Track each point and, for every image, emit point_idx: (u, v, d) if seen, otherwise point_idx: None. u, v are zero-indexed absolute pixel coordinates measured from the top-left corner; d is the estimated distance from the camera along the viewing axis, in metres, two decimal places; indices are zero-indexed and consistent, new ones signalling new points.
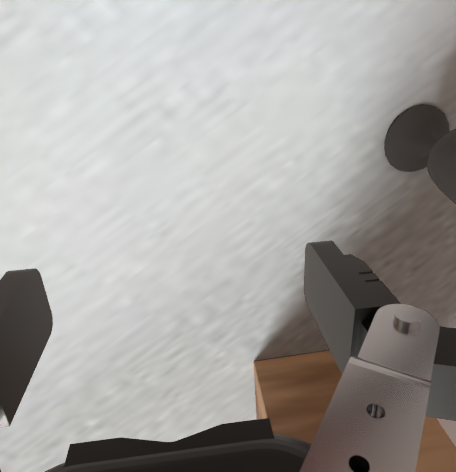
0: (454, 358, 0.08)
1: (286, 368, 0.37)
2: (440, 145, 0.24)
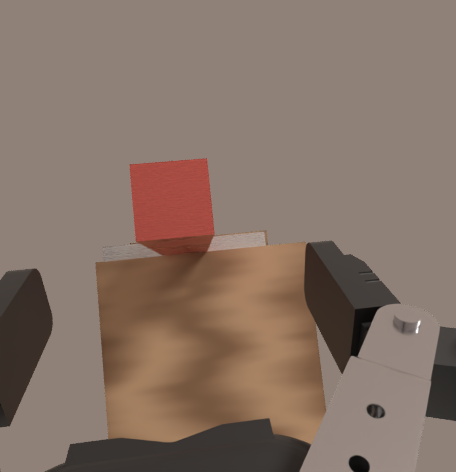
0: (454, 358, 0.08)
1: None
2: None
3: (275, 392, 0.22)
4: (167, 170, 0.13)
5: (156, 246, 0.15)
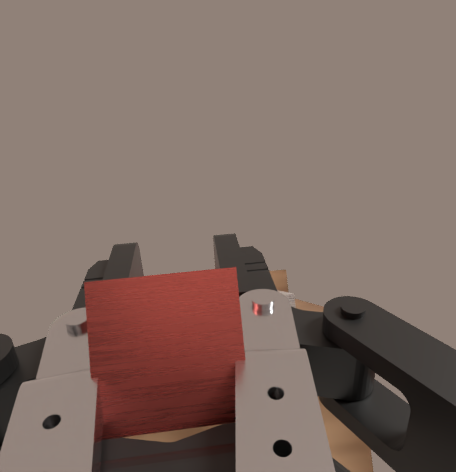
0: (301, 337, 0.09)
1: None
2: None
3: None
4: (159, 293, 0.07)
5: None
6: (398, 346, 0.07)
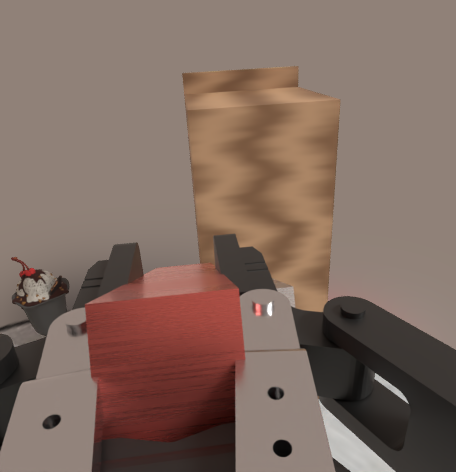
0: (301, 337, 0.09)
1: None
2: (36, 329, 0.50)
3: (303, 201, 0.35)
4: (160, 315, 0.07)
5: None
6: (398, 346, 0.07)
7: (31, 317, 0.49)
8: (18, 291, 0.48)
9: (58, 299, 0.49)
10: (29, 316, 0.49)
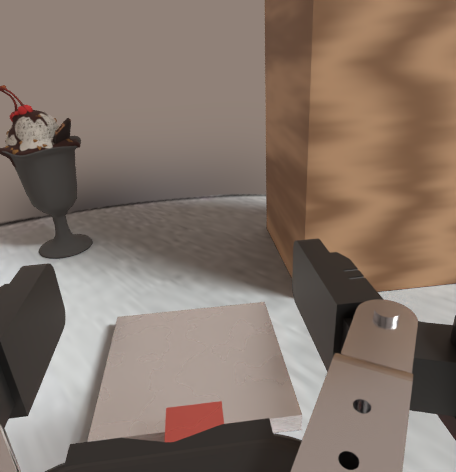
0: (431, 352, 0.08)
1: (292, 264, 0.31)
2: (34, 201, 0.35)
3: None
4: None
5: None
6: None
7: (27, 179, 0.34)
8: (8, 139, 0.34)
9: (65, 153, 0.34)
10: (24, 177, 0.34)
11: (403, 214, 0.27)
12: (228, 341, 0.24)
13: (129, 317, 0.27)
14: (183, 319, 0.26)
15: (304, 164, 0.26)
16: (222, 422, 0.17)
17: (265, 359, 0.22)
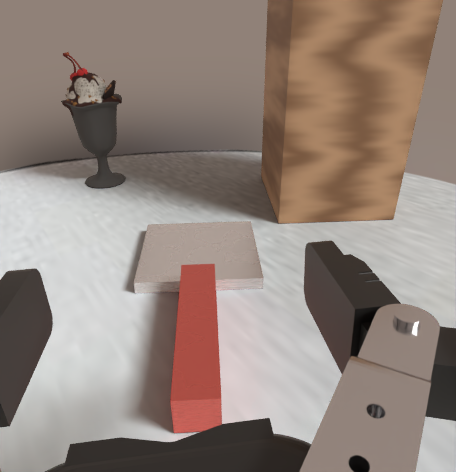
0: (454, 358, 0.08)
1: (274, 199, 0.43)
2: (85, 143, 0.47)
3: None
4: (194, 404, 0.20)
5: None
6: None
7: (81, 125, 0.45)
8: (68, 94, 0.45)
9: (110, 107, 0.45)
10: (79, 124, 0.45)
11: (353, 165, 0.38)
12: (222, 241, 0.36)
13: (156, 225, 0.39)
14: (193, 228, 0.38)
15: (283, 124, 0.36)
16: (214, 272, 0.29)
17: (245, 251, 0.34)
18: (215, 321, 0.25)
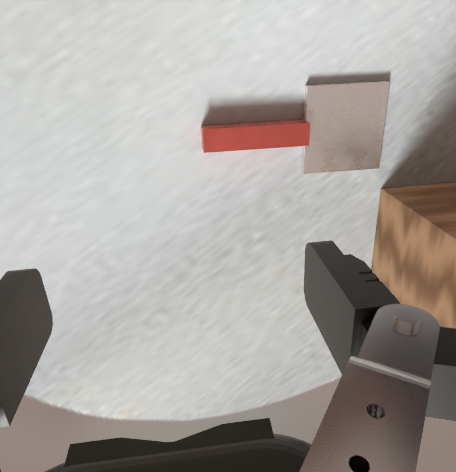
0: (454, 358, 0.08)
1: (407, 190, 0.50)
2: None
3: None
4: (202, 140, 0.44)
5: None
6: None
7: None
8: None
9: None
10: None
11: (397, 257, 0.49)
12: (352, 146, 0.48)
13: (387, 89, 0.45)
14: (376, 122, 0.47)
15: (430, 216, 0.43)
16: (299, 145, 0.45)
17: (336, 163, 0.48)
18: (253, 148, 0.45)
